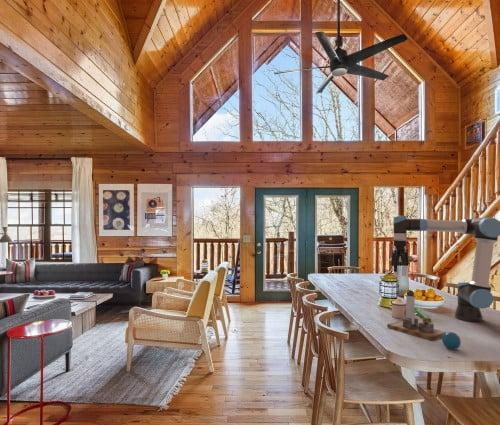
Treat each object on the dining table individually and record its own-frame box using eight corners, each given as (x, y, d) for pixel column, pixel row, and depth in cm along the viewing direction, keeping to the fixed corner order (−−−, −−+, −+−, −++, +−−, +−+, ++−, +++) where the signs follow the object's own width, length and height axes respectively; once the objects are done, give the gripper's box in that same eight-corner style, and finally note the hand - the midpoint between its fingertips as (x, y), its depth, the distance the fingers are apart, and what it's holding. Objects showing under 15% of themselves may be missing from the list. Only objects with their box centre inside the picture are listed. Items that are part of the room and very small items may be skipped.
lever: (405, 323, 194) (404, 289, 195) (409, 322, 196) (409, 289, 197) (411, 325, 191) (411, 291, 192) (415, 324, 193) (415, 290, 194)
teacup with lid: (408, 319, 216) (407, 300, 216) (392, 318, 218) (392, 299, 218) (404, 314, 227) (404, 296, 228) (389, 313, 230) (389, 296, 230)
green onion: (431, 323, 211) (413, 308, 241) (431, 318, 211) (413, 303, 241) (423, 323, 211) (406, 308, 241) (423, 317, 211) (406, 303, 241)
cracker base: (387, 327, 198) (387, 311, 198) (401, 323, 206) (401, 308, 206) (431, 340, 176) (431, 322, 177) (446, 335, 184) (445, 318, 184)
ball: (442, 350, 163) (442, 333, 163) (441, 345, 170) (440, 328, 170) (462, 353, 160) (462, 335, 160) (459, 347, 167) (459, 330, 167)
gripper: (404, 239, 224) (404, 274, 223) (384, 240, 213) (384, 276, 212) (414, 240, 218) (415, 276, 217) (395, 240, 207) (395, 278, 206)
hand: (400, 276), depth 215 cm, fingers open, 8 cm apart
